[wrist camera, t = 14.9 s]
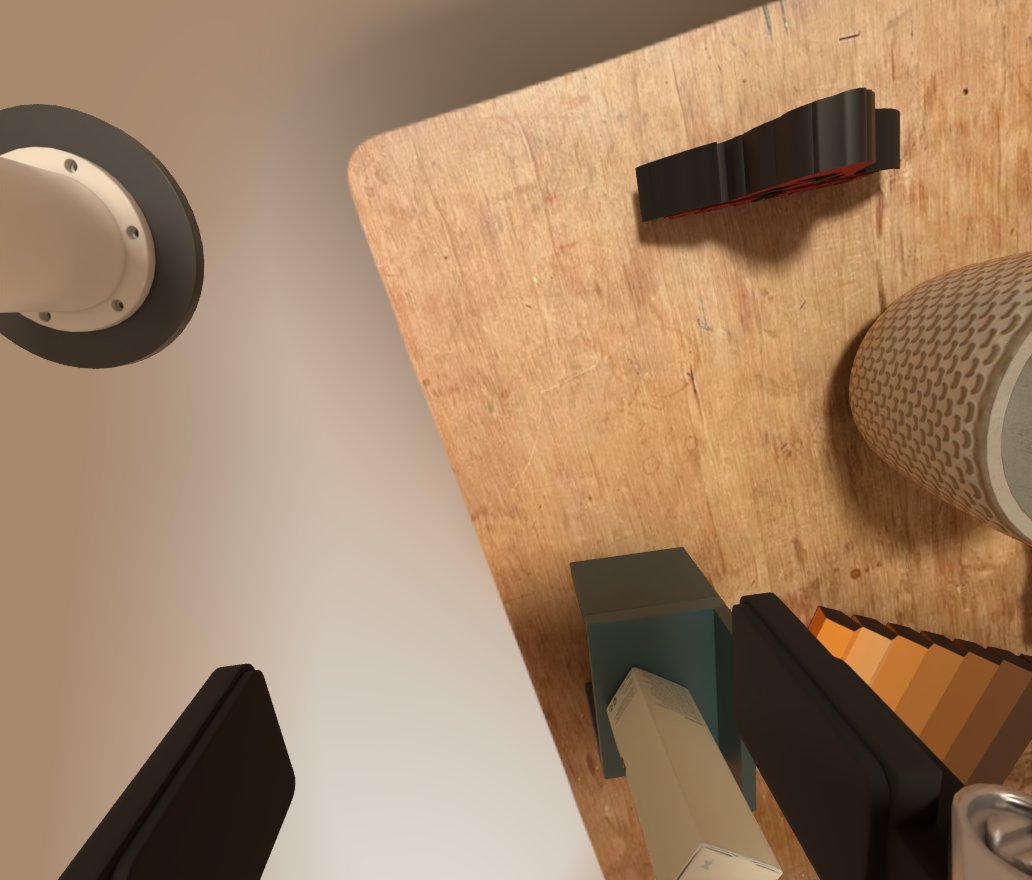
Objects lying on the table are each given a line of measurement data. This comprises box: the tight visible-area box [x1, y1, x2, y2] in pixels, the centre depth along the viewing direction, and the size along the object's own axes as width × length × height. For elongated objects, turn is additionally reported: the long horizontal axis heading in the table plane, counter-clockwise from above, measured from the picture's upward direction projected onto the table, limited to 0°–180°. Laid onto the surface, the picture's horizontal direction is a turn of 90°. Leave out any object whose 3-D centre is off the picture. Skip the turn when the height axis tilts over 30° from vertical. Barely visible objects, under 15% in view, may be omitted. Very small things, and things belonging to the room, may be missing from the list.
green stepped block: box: [570, 547, 756, 812], centre depth 41 cm, size 10×14×13 cm
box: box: [607, 667, 783, 880], centre depth 32 cm, size 5×4×13 cm
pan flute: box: [808, 606, 1032, 786], centre depth 50 cm, size 25×3×25 cm
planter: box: [849, 251, 1032, 546], centre depth 34 cm, size 17×17×16 cm
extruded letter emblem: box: [635, 88, 900, 222], centre depth 32 cm, size 18×4×11 cm, turn 101°
